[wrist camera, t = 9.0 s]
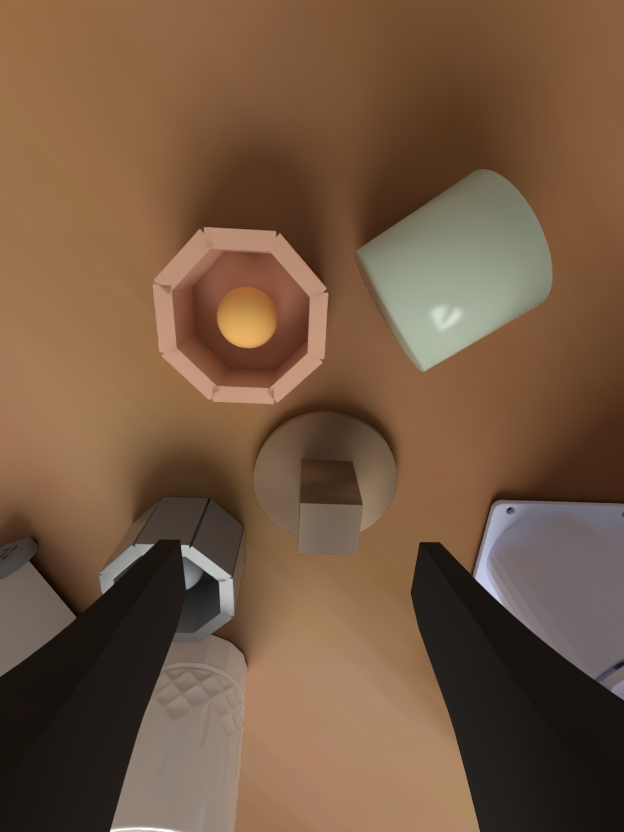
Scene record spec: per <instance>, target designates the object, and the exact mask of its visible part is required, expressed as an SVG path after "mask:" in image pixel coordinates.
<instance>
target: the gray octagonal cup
mask: <svg viewBox="0 0 624 832" xmlns="http://www.w3.org/2000/svg"><path fill="white" fill-rule="evenodd" d="M160 539H169V540H180V541H181V549H182V557H187V558H188V559H190V560H191V561H192V562H194V563H195V564H196V565H198V566H199V567H200V568H202V569H203V570H204V571H203V574H202V576H201V578H200V579H199V581H198V582H197V583H196V584H195V585H194V586H192V587H191V588H189V589H187V590H186V591H187V592H186V596H185V600H184V604H183V608H182V612H181V616H180V619H179V623H178V627H177V630H176V632H175V635H174V638H173V640H172V642H198V640H199V641H200V642H201V641H202V640H204V639H205V638H206V637H208V636H209V635H210V634H212V633H213V632H215V631H216V630H217V629H219V628H220V627H221V626H223V625H224V624H226V623H227V622H228V621H230V620H231V619H232V618H233V616H234V615H235V610H236V605H237V600H238V595H239V590H240V585H241V580H242V575H243V570H244V565H245V531H244V528H243V525H242V524H241V523H240V522H238V521H237V520H236V519H235V518H233V517H232V516H231V515H230V514H229V513H227V512H226V511H225V510H224V509H223V508H221V507H220V506H219V505H218V504H217V503H215V502H214V501H213V500H212V499H211V500H210V501H209V498H189V497H163V499H162V498H160V499H159V500H158V501H157V502H156V503H154V504H153V505H152V506H151V507H150V508H149V509H148V510H147V511H146V512H144V513H143V514H142V515H141V516H140V517H139V518H138V519H137V520H136V521H134V522H133V524H132V525H131V527H130V528H129V530H128V531H127V533H126V534H125V536H124V537H123V539H122V540H121V542H120V543H119V545H118V546H117V548H116V549H115V551H114V552H113V554H112V555H111V557H110V558H109V560H108V561H107V563H106V564H105V566H104V567H103V569H102V570H101V572H100V573H99V581H100V585H101V590H102V595H103V594H104V593H105V592H106V591H107V590H108V589H109V588H110V587H111V586H112V585H113V584H115V583H116V582H117V581H118V580H119V579H120V578H121V577H122V576H123V575H124V574H125V573H126V572H127V571H128V570H129V569H130V568H131V567H132V566H133V565H134V564H135V563H136V562H137V561H138V560H139V559H140V558H141V557H142V556H143V555H144V554H145V553H146V552H147V551H148V550H149V549H150V548H151V547H152V546H153V545H154V544H155V543H156V542H157V541H158V540H160Z"/></svg>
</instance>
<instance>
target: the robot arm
mask: <svg viewBox="0 0 624 832" xmlns="http://www.w3.org/2000/svg"><path fill="white" fill-rule="evenodd" d="M509 507H511V509H509V510H507V509H508V508H509ZM186 592H187V591H186V583H185V574H184V566H183V558H182V549H181V541H180V540H169V539H160V540H158V541H157V542H156V543H155V544H154V545H153V546H152V547H151V548H150V549H149V550H148V551H147V552H146V553H145V554H144V555H143V556H142V557H141V558H140V559H139V560H138V561H137V562H136V563H135V564H134V565H133V566H132V567H131V568H130V569H129V570H128V571H127V572H126V573H125V574H124V575H123V576H122V577H121V578H120V579H119V580H118V581H117V582H116V583H115V584H113V585H112V586H111V587H110V588H109V589H108V590H107V591H106V592H105V593H104V594H103V595H102V596H101V597H100V598H99V599H98V600H96V601H95V602H94V603H93V604H92V605H91V606H90V607H89V608H87V609H86V610H85V611H84V612H83V613H82V614H81V615H79V616H78V617H77V618H76V619H75V620H74V621H73V622H71V623H70V624H69V625H68V626H67V627H66V628H64V629H63V630H62V631H61V632H59V633H58V634H57V635H56V636H55V637H53V638H52V639H51V640H50V641H48V642H47V643H46V644H44V645H43V646H42V647H41V648H39V649H38V650H37V651H35V652H34V653H33V654H31V655H30V656H29V657H27V658H26V659H25V660H23V661H22V662H21V663H19V664H18V665H16V666H15V667H13V668H12V669H11V670H9V671H8V672H6V673H5V674H3V675H2V676H1V677H0V832H110V830H111V826H112V823H113V819H114V815H115V812H116V808H117V805H118V801H119V797H120V794H121V790H122V786H123V783H124V779H125V776H126V772H127V769H128V766H129V762H130V759H131V755H132V752H133V748H134V745H135V741H136V738H137V735H138V732H139V729H140V726H141V723H142V720H143V717H144V714H145V711H146V709H147V706H148V703H149V701H150V698H151V696H152V693H153V690H154V688H155V685H156V683H157V680H158V677H159V675H160V672H161V669H162V667H163V664H164V662H165V659H166V656H167V654H168V651H169V648H170V646H171V643H172V640H173V638H174V635H175V632H176V630H177V627H178V623H179V619H180V616H181V612H182V608H183V604H184V600H185V596H186ZM411 596H412V601H413V606H414V610H415V614H416V618H417V623H418V627H419V630H420V633H421V636H422V639H423V642H424V644H425V647H426V650H427V653H428V656H429V659H430V661H431V664H432V667H433V670H434V673H435V675H436V678H437V681H438V684H439V687H440V689H441V692H442V695H443V698H444V701H445V704H446V706H447V709H448V712H449V715H450V718H451V722H452V725H453V728H454V731H455V735H456V739H457V742H458V746H459V750H460V754H461V757H462V761H463V765H464V769H465V772H466V776H467V780H468V784H469V788H470V792H471V796H472V800H473V804H474V808H475V812H476V817H477V821H478V825H479V829H480V832H624V504H619V503H586V502H553V501H520V500H498V501H496V502H494V503H493V504H492V506H491V509H490V513H489V517H488V520H487V524H486V528H485V532H484V535H483V539H482V543H481V546H480V550H479V554H478V558H477V561H476V565H475V569H474V572H473V576H472V575H471V574H470V573H469V572H468V571H467V570H466V569H465V568H464V567H463V566H462V565H461V564H460V563H459V562H458V561H457V560H456V559H455V558H454V557H453V556H452V555H451V554H450V552H449V551H448V550H447V549H446V548H445V547H444V546H443V545H442V544H441V543H440V542H420V544H419V550H418V555H417V561H416V566H415V572H414V578H413V583H412V589H411Z"/></svg>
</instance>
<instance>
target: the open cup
mask: <svg viewBox="0 0 624 832" xmlns="http://www.w3.org/2000/svg"><path fill="white" fill-rule="evenodd" d="M154 281H155V282H156V283H157V284H153V293H154V303H155V313H156V322H157V332H158V342H159V351H160V352H165V353H164V354H163V355H162V357H163V358H164V359H166V360H167V361H168V362H169V363H170V364H171V365H172V366H173V367H174V368H175V369H176V370H177V371H179V372H180V373H181V374H182V375H183V376H184V377H185V378H186V379H187V380H188V381H189V382H190V383H191V384H193V385H194V386H195V387H196V388H197V389H198V390H199V391H200V392H201V393H202V394H203V395H204V396H206V397H207V398H208V399H209V400H210V399H211V398H212V397H213V402H236V403H262V404H274V401H276V402H277V403H278V402H279V401H280V400H281V399H282V398H283V397H284V396H286V395H287V394H288V393H289V392H290V391H291V390H292V389H293V388H295V387H296V386H297V385H298V384H299V383H300V382H301V381H302V380H304V379H305V378H306V377H307V376H308V375H309V374H310V373H311V372H313V371H314V370H315V369H316V368H317V367H318V366H319V365H321V364H322V363H323V362H322V359H324V356H325V340H326V324H327V307H328V292H327V291H326V289H327V288H326V287H325V286H324V285H323V283H322V282H321V281H320V280H319V279H318V278H317V276H316V275H315V274H314V273H313V272H312V270H311V269H310V268H309V267H308V266H307V265H306V263H305V262H304V261H303V260H302V259H301V257H300V256H299V255H298V254H297V253H296V252H295V250H294V249H293V248H292V247H291V246H290V244H289V243H288V242H287V241H286V240H285V239H284V237H283V236H282V235H281V234H278V233H277V232H276V231H265V230H247V229H229V228H211V227H204V230H202V229H199V230H198V231H197V232H196V234H195V235H194V236H193V237H192V238H191V239H190V240H189V241H188V243H187V244H186V245H185V246H184V247H183V248H182V249H181V250H180V251H179V253H178V254H177V255H176V256H175V257H174V258H173V259H172V260H171V261H170V263H169V264H168V265H167V266H166V267H165V268H164V269H163V270H162V272H161V273H160V274H159V275H158V276H157V277H156V278H155V279H154ZM238 287H253V288H257V289H259V290H261V291H263V292H264V293H265V294H267V295H268V296H269V297H270V299H271V300H272V302H273V303H274V305H275V308H276V311H277V327H276V330H275V332H274V334H273V335H272V337H271V338H270V339H269V340H268V341H267V342H266V343H264V344H263V345H261V346H259V347H255V348H242V347H238V346H236V345H234V344H232V343H231V342H229V341H228V340H227V339H226V338H225V337H224V336H223V334H222V333H221V331H220V329H219V326H218V322H217V310H218V306H219V304H220V301H221V300H222V298H223V297H224V296H225V295H226V294H227V293H228V292H230V291H231V290H233V289H235V288H238Z"/></svg>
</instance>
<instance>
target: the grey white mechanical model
mask: <svg viewBox="0 0 624 832" xmlns="http://www.w3.org/2000/svg"><path fill="white" fill-rule="evenodd" d="M37 549H38V545H37V544H36V543H35V541H34V540H33V539H32V538H31V537H25V538H23V539H20V540H18V541H15V542H11V543H8V544H5V545H3V546H2V547H0V677H1V676H2V675H3V674H5V673H6V672H8V671H9V670H11V669H12V668H13V667H15V666H16V665H18V664H19V663H21V662H22V661H23V660H25V659H26V658H27V657H29V656H30V655H31V654H33V653H34V652H35V651H37V650H38V649H39V648H41V647H42V646H43V645H44V644H46V643H47V642H48V641H50V640H51V639H52V638H53V637H55V636H56V635H57V634H58V633H59V632H61V631H62V630H63V629H64V628H66V627H67V626H68V625H69V624H70V623H71V622H73V621H74V620H75V619H76V616H75V615H74V614H73V613H72V612H71V610H70V609H69V608H68V607H67V606H66V604H65V603H64V602H63V601H62V600H61V599H60V597H59V596H58V595H57V594H56V593H55V591H54V590H53V589H52V588H51V587H50V585H49V584H48V583H47V582H46V581H45V579H44V578H43V577H42V576H41V575H40V573H39V572H38V571H37V570H36V569H35V568H34V566H33V565H32V564H31V563H30V562H29V560H30V559H31V558H32V557H33V556H34V554H35V553H36V551H37Z"/></svg>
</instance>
